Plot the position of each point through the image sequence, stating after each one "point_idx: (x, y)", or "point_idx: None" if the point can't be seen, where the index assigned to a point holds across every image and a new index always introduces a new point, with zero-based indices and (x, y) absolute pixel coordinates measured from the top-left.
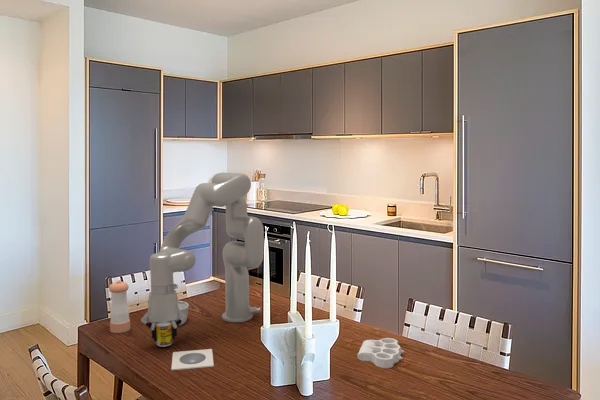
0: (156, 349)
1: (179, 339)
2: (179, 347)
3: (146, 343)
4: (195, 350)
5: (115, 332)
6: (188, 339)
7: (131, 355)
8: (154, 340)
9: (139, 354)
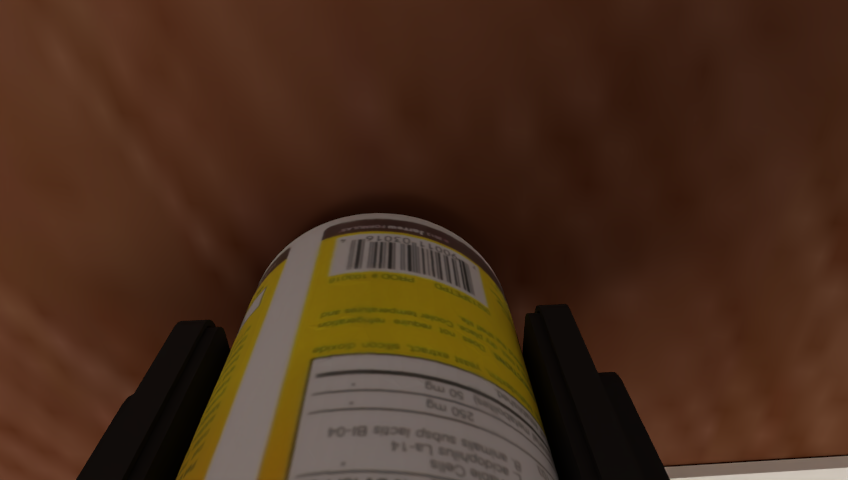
0: None
1: (612, 69)
2: None
3: (49, 159)
4: (745, 477)
5: None
6: (763, 97)
7: (33, 476)
8: None
9: None
